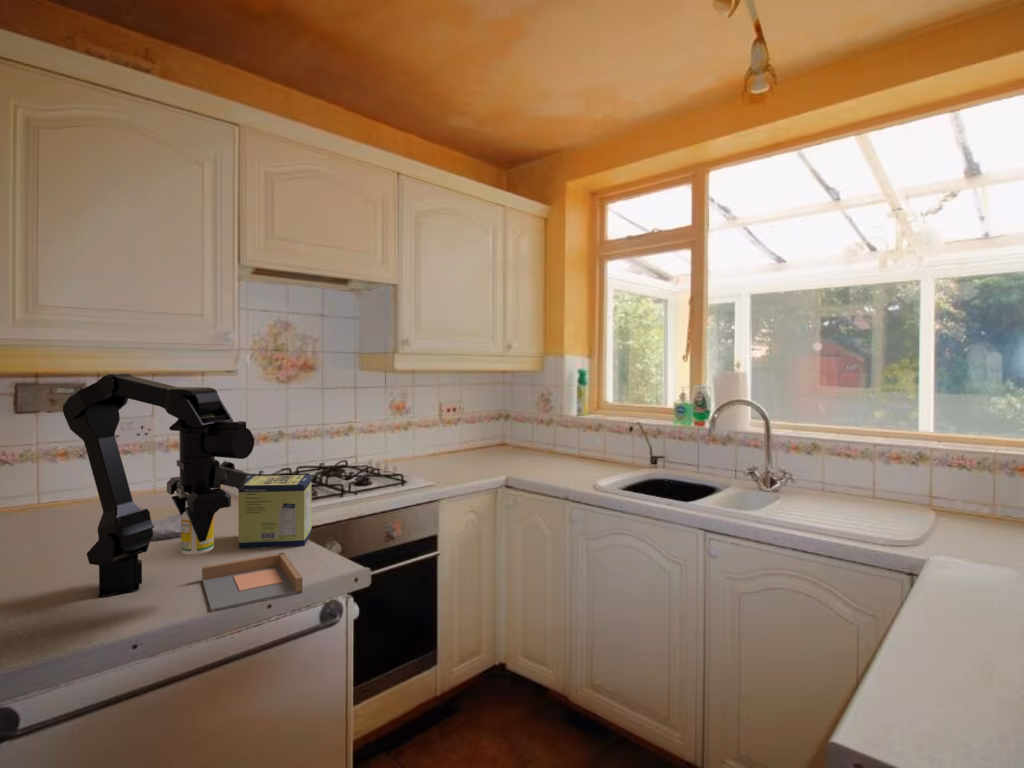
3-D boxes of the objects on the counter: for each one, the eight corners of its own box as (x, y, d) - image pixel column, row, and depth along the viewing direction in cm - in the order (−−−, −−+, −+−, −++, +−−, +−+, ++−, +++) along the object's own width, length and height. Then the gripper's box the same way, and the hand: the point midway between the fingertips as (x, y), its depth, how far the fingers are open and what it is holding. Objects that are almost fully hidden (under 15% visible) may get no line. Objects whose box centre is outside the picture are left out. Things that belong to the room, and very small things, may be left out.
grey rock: (203, 540, 143) (191, 523, 150) (203, 523, 142) (191, 507, 149) (149, 552, 135) (140, 534, 141) (149, 535, 134) (139, 517, 140)
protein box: (249, 534, 143) (249, 475, 142) (312, 532, 146) (312, 474, 145) (236, 549, 132) (237, 485, 131) (305, 546, 135) (305, 483, 134)
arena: (211, 611, 101) (211, 595, 101) (202, 580, 114) (202, 566, 114) (302, 592, 110) (302, 577, 110) (284, 565, 123) (284, 552, 123)
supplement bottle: (177, 556, 101) (176, 504, 100) (186, 546, 106) (185, 497, 106) (210, 554, 102) (209, 503, 102) (217, 544, 107) (216, 495, 107)
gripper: (260, 457, 102) (260, 540, 103) (227, 444, 115) (227, 517, 116) (193, 465, 94) (194, 554, 95) (165, 449, 108) (166, 528, 109)
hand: (197, 537), depth 104 cm, fingers closed on supplement bottle, 5 cm apart
